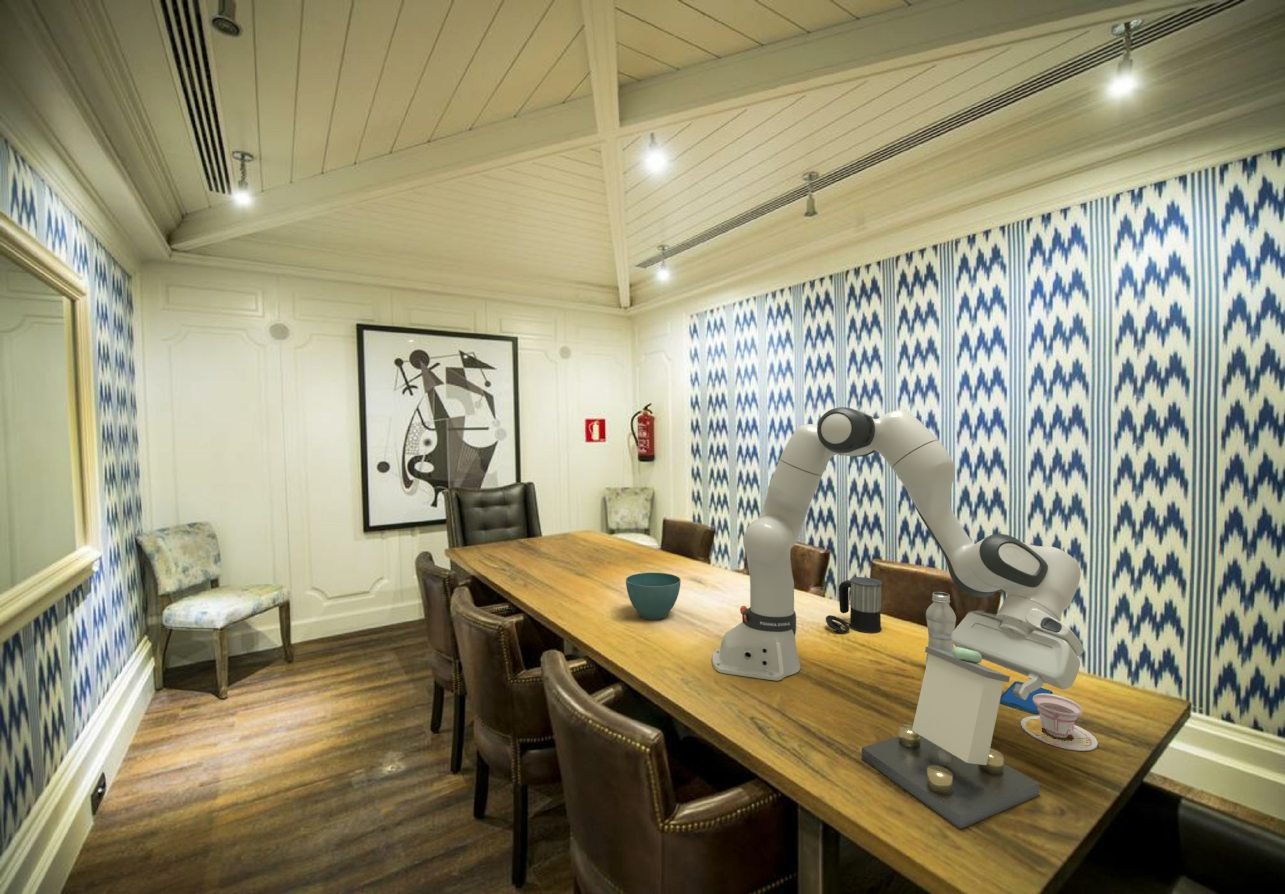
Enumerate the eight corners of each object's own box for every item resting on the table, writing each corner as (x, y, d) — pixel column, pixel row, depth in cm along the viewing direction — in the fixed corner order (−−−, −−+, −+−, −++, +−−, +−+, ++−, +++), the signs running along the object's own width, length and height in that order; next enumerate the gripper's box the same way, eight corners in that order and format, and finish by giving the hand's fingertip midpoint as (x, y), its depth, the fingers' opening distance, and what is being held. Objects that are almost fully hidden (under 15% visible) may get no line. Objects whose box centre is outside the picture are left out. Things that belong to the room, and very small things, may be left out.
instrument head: (964, 781, 84) (990, 659, 86) (904, 743, 95) (928, 635, 97) (988, 783, 86) (1012, 664, 89) (926, 746, 97) (949, 641, 99)
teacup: (1022, 712, 112) (1022, 683, 112) (1096, 732, 105) (1097, 701, 104) (1018, 737, 103) (1018, 705, 103) (1099, 760, 95) (1099, 727, 95)
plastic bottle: (961, 681, 126) (961, 598, 126) (930, 678, 128) (930, 597, 127) (950, 669, 133) (951, 591, 132) (921, 667, 134) (922, 589, 134)
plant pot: (623, 607, 182) (623, 572, 182) (675, 606, 184) (675, 571, 184) (628, 626, 164) (628, 587, 164) (685, 624, 166) (685, 585, 166)
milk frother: (886, 627, 163) (886, 580, 162) (868, 642, 151) (869, 591, 151) (840, 617, 172) (840, 572, 172) (820, 630, 160) (820, 582, 160)
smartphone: (1053, 691, 121) (1037, 712, 111) (1053, 695, 121) (1037, 717, 111) (1015, 680, 126) (997, 699, 116) (1015, 684, 126) (996, 703, 116)
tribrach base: (960, 829, 78) (960, 800, 78) (861, 758, 96) (861, 734, 96) (1039, 795, 86) (1039, 768, 86) (934, 735, 103) (934, 713, 103)
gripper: (964, 598, 108) (930, 653, 104) (1080, 631, 89) (1044, 700, 85) (978, 616, 109) (946, 672, 106) (1095, 652, 91) (1061, 721, 87)
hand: (991, 685), depth 95 cm, fingers open, 8 cm apart
